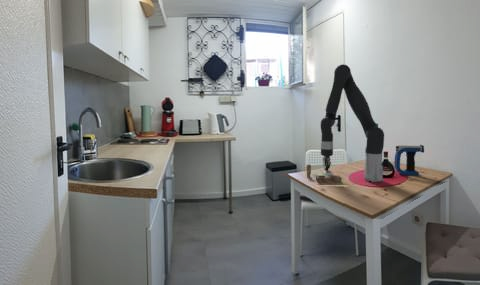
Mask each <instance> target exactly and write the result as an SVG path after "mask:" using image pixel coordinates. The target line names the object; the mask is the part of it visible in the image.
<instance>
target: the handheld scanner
mask: <svg viewBox="0 0 480 285" xmlns="http://www.w3.org/2000/svg"><path fill="white" fill-rule="evenodd" d="M395 151H396V152H395V153H394V169H395V171H397V173H398V174H401V175H403V176H419V175H420V172H419V171H418V170H416V169H415V168H416V160H415V157H416V155H417V153H420V152H421V153H425V146H424V145H423V144H419V145H407V144H405V145H403V144H402V145H400V144H399V145H395ZM403 153H405V156H406V162H405V163H406V166H405V167H406V168H405V170H404V169H402V168H401V156H402V154H403Z"/></svg>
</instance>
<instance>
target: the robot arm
mask: <svg viewBox="0 0 480 285" xmlns="http://www.w3.org/2000/svg"><path fill="white" fill-rule="evenodd" d="M333 72H334V74H333V83H332V88H331V90H330V94H329V97H328V100H327V103H326V107H325V112H326V113H325V116H324V117H323V118H322V119H321V121H320V132H321V142H320V155H321V156H323V158H322V165H323V168H324V170H323V171H329V169H330V168H331V164H332V162H331V158H330V157H332V156H333V155H334V133H333V131H332V127H334V125H335V123H336V118H337V113H338V109H339V106H340V102H341V99H342V94H343V91H344V94H345V97H346V99H347V102H348V105H349V106H350V108H351V110H352V112H353V114H354V115H355V116H356V118H357V120H358V121H359V122H360V124H361V127H362V130H363V132H364V135H365V138H366V146H365V154H364V175H363V176H364V178H363V180H364V179H365V180H364V181H366V182H369V181H371V183H380V182H383V174H384V165H383V150H384V145H385V143H384V142H385V132H384V130H383V128H381V127H379V126H378V125H377V123H376V122H375V120H374V118H373V115H372V113H371V108H370V106H369V103H368V102H367V99H366V97H365V95H364V94H363V92H362V91H361V90H360V88H359V87H358V85H357V84H356V82H355V80H354V76H353V75H352V71H351V68H350V67H349V65H347V64H344V63H343V64H339V65H337V66H336V68H335V69H334V71H333Z"/></svg>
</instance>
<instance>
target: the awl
mask: <svg viewBox="0 0 480 285" xmlns="http://www.w3.org/2000/svg"><path fill="white" fill-rule="evenodd" d="M311 170H312V165H311V164H306V178H311V175H312V171H311Z"/></svg>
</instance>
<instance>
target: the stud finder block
mask: <svg viewBox="0 0 480 285" xmlns="http://www.w3.org/2000/svg"><path fill="white" fill-rule="evenodd" d="M322 174H323V175H334V172H332V170H328V171H324V170H322Z"/></svg>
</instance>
